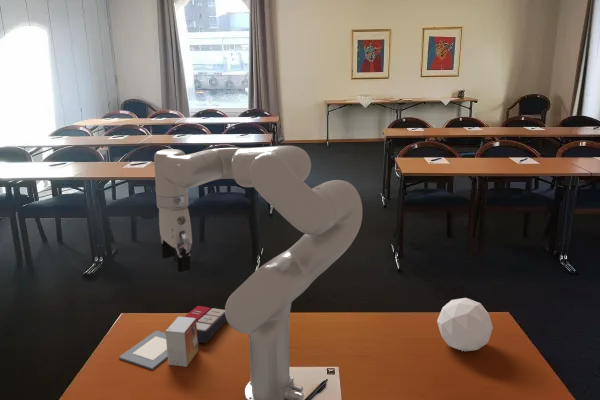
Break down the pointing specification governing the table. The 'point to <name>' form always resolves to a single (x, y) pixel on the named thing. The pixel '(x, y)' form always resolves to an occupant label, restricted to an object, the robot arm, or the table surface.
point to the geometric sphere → (465, 324)
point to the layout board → (148, 351)
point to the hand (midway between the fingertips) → (176, 263)
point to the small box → (182, 341)
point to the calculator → (207, 321)
